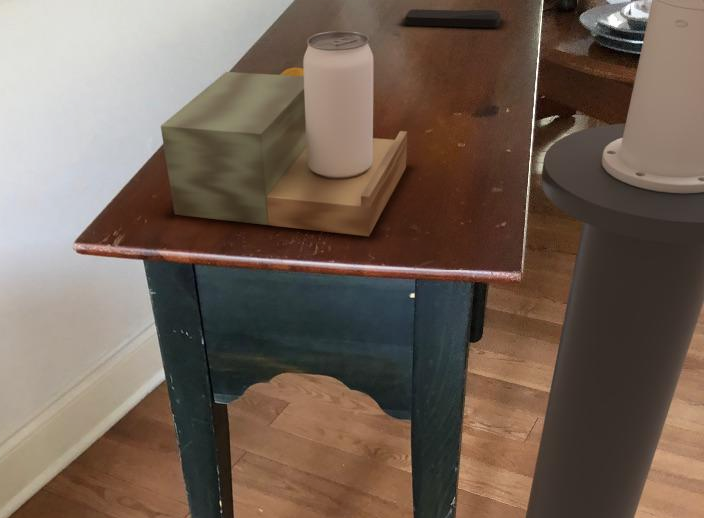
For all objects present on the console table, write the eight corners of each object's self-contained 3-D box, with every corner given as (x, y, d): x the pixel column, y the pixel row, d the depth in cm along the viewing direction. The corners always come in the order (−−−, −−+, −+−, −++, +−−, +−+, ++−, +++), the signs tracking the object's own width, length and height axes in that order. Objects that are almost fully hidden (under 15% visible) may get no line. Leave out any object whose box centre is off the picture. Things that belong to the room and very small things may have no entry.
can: (294, 167, 80) (287, 41, 72) (340, 148, 83) (338, 25, 75) (339, 186, 76) (337, 54, 68) (385, 165, 79) (388, 37, 71)
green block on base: (406, 167, 86) (409, 82, 80) (368, 236, 74) (369, 142, 68) (234, 152, 91) (225, 71, 85) (174, 215, 79) (160, 125, 74)
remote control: (403, 28, 129) (497, 28, 125) (403, 17, 128) (498, 16, 124) (409, 20, 132) (501, 19, 128) (409, 9, 131) (501, 7, 127)
